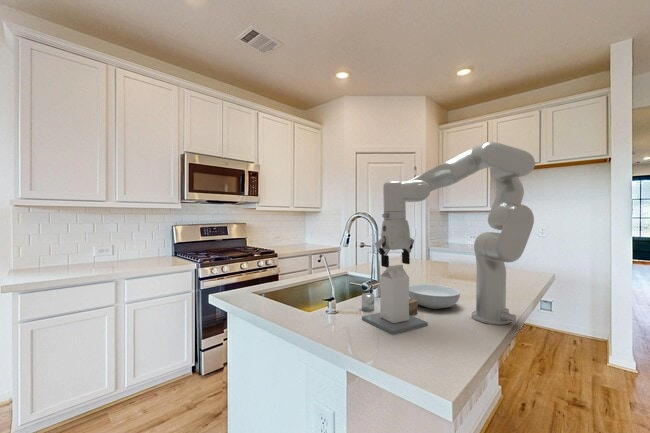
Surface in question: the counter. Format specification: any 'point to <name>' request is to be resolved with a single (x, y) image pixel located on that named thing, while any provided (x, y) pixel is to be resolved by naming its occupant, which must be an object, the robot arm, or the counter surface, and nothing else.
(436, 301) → the serving bowl
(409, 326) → the plate
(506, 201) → the robot arm
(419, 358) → the counter surface
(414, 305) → the walnut block
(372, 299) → the glass jar
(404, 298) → the milk carton
